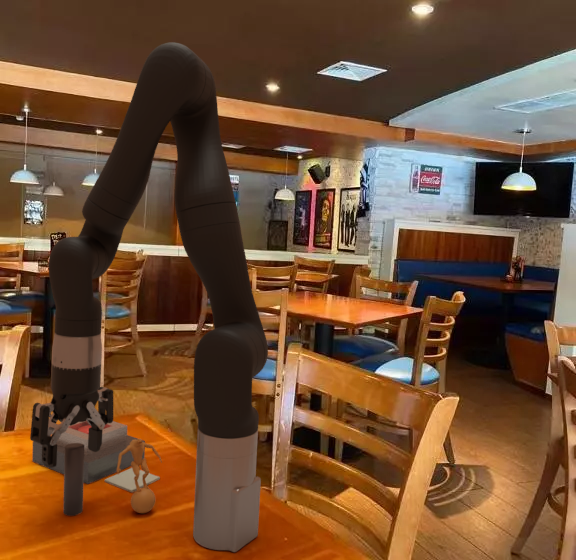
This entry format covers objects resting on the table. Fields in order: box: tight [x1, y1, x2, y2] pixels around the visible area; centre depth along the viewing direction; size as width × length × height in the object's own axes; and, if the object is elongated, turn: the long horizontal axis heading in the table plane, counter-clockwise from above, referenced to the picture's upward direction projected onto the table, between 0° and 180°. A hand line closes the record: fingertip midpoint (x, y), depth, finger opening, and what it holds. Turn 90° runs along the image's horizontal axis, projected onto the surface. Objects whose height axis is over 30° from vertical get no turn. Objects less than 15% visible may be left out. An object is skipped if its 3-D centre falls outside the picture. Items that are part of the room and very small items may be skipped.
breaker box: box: [31, 420, 146, 485], centre depth 117 cm, size 16×14×7 cm
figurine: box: [116, 438, 163, 514], centre depth 98 cm, size 8×6×12 cm
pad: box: [104, 467, 161, 493], centre depth 109 cm, size 7×7×1 cm
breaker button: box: [78, 425, 91, 434], centre depth 116 cm, size 4×4×4 cm
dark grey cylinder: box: [63, 443, 84, 517], centre depth 96 cm, size 3×3×11 cm
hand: (72, 457), depth 96 cm, fingers open, 8 cm apart
